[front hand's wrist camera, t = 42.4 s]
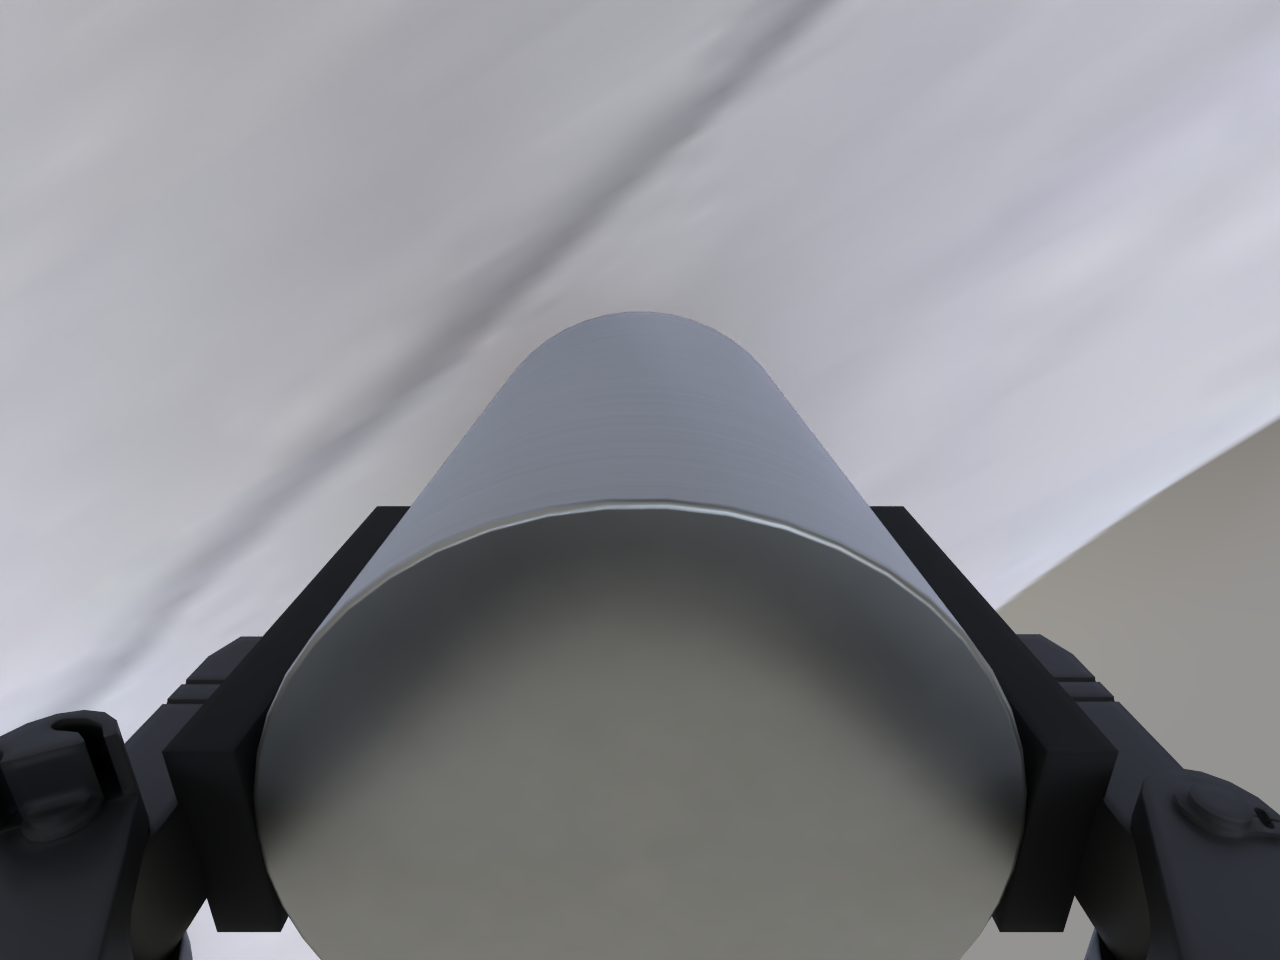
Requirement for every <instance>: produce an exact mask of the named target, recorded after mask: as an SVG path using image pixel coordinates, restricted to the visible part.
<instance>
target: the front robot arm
mask: <svg viewBox="0 0 1280 960" xmlns="http://www.w3.org/2000/svg"><path fill="white" fill-rule="evenodd" d="M410 507H411V506H377V507H376V508H375V509H374V511H373V512H372V513H371V514H370V515H369V516H368V517H367V519H366V520H365V521H364V522H363V523H362V524H361V525H360V526H359V528H358V529H357V530H356V531H355V532H354V533H353V534H352V536H351V537H350V538H349V539H348V540H347V541H346V542H345V544H344V545H343V546H342V547H341V548H340V549H339V550H338V551H337V553H336V554H335V555H334V556H333V557H332V558H331V559H330V561H329V562H328V563H327V564H326V565H325V566H324V567H323V569H322V570H321V571H320V572H319V573H318V574H317V575H316V577H315V578H314V579H313V580H312V581H311V582H310V583H309V584H308V586H307V587H306V588H305V589H304V590H303V591H302V592H301V594H300V595H299V596H298V597H297V598H296V599H295V600H294V602H293V603H292V604H291V605H290V606H289V607H288V608H287V609H286V611H285V612H284V613H283V614H282V615H281V616H280V617H279V619H278V620H277V621H276V622H275V623H274V624H273V625H272V627H271V628H270V629H269V630H268V631H267V632H266V633H265V635H264V636H263V637H239V638H238V639H236V640H235V641H233V642H231V643H230V644H228V645H226V646H225V647H223V648H222V649H220V650H218V651H217V652H215V653H213V654H212V655H210V656H208V658H207V659H206V660H205V661H204V662H203V663H202V664H201V665H200V666H199V667H198V668H197V669H196V670H195V671H194V672H193V673H192V674H191V675H190V676H189V677H188V678H187V679H186V684H182V685H181V686H180V687H179V688H178V689H177V690H176V691H175V692H174V693H173V694H172V695H171V696H170V697H169V698H168V699H167V700H168V701H167V704H162V705H161V706H160V707H159V708H158V710H157V711H156V712H155V713H154V714H153V715H152V716H151V717H150V718H149V719H148V720H147V721H146V722H145V723H144V724H143V725H142V726H141V727H140V728H139V729H138V730H137V731H136V732H135V733H134V735H133V736H132V737H131V738H130V739H129V740H128V741H127V742H126V743H125V744H124V741H123V738H122V735H121V732H120V729H119V726H118V723H117V720H115V719H114V718H112V717H111V716H110V715H108V714H107V713H105V712H98V711H89V710H81V711H74V712H67V713H60V714H55V715H52V716H49V717H46V718H43V719H39V720H36V721H33V722H30V723H27V724H25V725H23V726H21V727H19V728H17V729H15V730H13V731H11V732H8V733H6V734H4V735H2V736H0V960H192V959H193V958H192V952H191V945H190V941H189V938H188V935H187V932H186V930H187V928H188V927H189V925H190V924H191V922H192V920H193V919H194V917H195V916H196V914H197V913H198V911H199V909H200V908H201V906H202V905H203V903H204V901H205V900H206V898H207V900H208V903H209V906H210V910H211V913H212V916H213V919H214V923H215V926H216V929H217V932H281V930H282V928H283V926H284V924H285V922H286V920H287V918H288V914H287V913H286V911H285V910H284V908H283V907H282V904H281V902H280V900H279V898H278V896H277V893H276V891H275V889H274V887H273V884H272V882H271V880H270V878H269V876H268V873H267V871H266V867H265V863H264V860H263V856H262V852H261V848H260V845H259V841H258V837H257V831H256V820H255V810H254V799H253V794H254V782H255V770H256V757H257V751H258V747H259V743H260V740H261V736H262V732H263V728H264V724H265V721H266V717H267V713H268V711H269V709H270V707H271V705H272V702H273V700H274V698H275V696H276V694H277V692H278V689H279V687H280V685H281V683H282V681H283V679H284V677H285V674H286V673H287V671H288V670H289V668H290V667H291V666H292V664H293V663H294V661H295V660H296V658H297V657H298V655H299V654H300V652H301V651H302V650H303V648H304V647H305V645H306V644H307V642H308V641H309V639H310V638H311V637H312V635H313V634H314V633H315V631H316V630H317V629H318V627H319V626H320V625H321V623H322V622H323V621H324V620H325V618H326V617H327V616H328V614H329V613H330V612H331V610H332V609H333V608H334V606H335V605H336V604H337V603H338V601H339V600H340V599H341V597H342V596H343V595H344V593H345V592H346V591H347V589H348V588H349V587H350V586H351V584H352V583H353V582H354V580H355V579H356V578H357V576H358V575H359V574H360V572H361V571H362V570H363V569H364V567H365V566H366V565H367V563H368V562H369V561H370V559H371V558H372V557H373V556H374V554H375V553H376V552H377V550H378V549H379V548H380V546H381V545H382V544H383V542H384V541H385V540H386V539H387V537H388V536H389V535H390V533H391V532H392V531H393V529H394V528H395V527H396V525H397V524H398V523H399V522H400V520H401V519H402V518H403V516H404V515H405V514H406V512H407V511H408V510H409V508H410ZM869 507H870V508H871V510H872V511H873V512H874V514H875V515H876V516H877V517H878V519H879V520H880V521H881V523H882V524H883V525H884V527H885V528H886V529H887V530H888V532H889V533H890V534H891V536H892V537H893V538H894V540H895V541H896V542H897V544H898V545H899V546H900V547H901V549H902V550H903V551H904V553H905V554H906V555H907V557H908V558H909V559H910V560H911V562H912V563H913V564H914V566H915V567H916V568H917V570H918V571H919V572H920V574H921V575H922V576H923V577H924V579H925V580H926V581H927V583H928V584H929V585H930V587H931V588H932V589H933V590H934V592H935V593H936V594H937V596H938V597H939V598H940V600H941V601H942V602H943V604H944V605H945V606H946V607H947V609H948V610H949V611H950V613H951V614H952V615H953V617H954V618H955V619H956V620H957V622H958V623H959V624H960V626H961V627H962V628H963V630H964V631H965V632H966V634H967V635H968V636H969V638H970V639H971V641H972V642H973V643H974V645H975V646H976V648H977V649H978V650H979V652H980V653H981V655H982V656H983V657H984V659H985V660H986V662H987V663H988V664H989V666H990V667H991V669H992V670H993V672H994V674H995V676H996V678H997V680H998V682H999V684H1000V687H1001V689H1002V691H1003V693H1004V695H1005V697H1006V699H1007V701H1008V703H1009V705H1010V707H1011V709H1012V713H1013V716H1014V720H1015V723H1016V727H1017V730H1018V734H1019V737H1020V741H1021V745H1022V748H1023V756H1024V766H1025V777H1026V787H1027V801H1026V814H1025V826H1024V834H1023V838H1022V842H1021V846H1020V850H1019V854H1018V857H1017V861H1016V865H1015V869H1014V871H1013V874H1012V876H1011V878H1010V880H1009V883H1008V885H1007V887H1006V890H1005V892H1004V894H1003V897H1002V899H1001V901H1000V903H999V905H998V907H997V908H996V910H995V911H994V913H993V915H992V917H993V919H994V921H995V923H996V925H997V927H998V929H999V931H1000V932H1063V931H1064V928H1065V924H1066V921H1067V918H1068V915H1069V911H1070V908H1071V905H1072V902H1073V899H1074V895H1075V897H1076V898H1077V900H1078V902H1079V903H1080V905H1081V906H1082V908H1083V909H1084V911H1085V913H1086V914H1087V916H1088V917H1089V919H1090V921H1091V922H1092V924H1093V925H1094V927H1095V929H1094V932H1093V935H1092V938H1091V941H1090V944H1089V947H1088V950H1087V953H1086V956H1085V959H1084V960H1280V815H1279V814H1278V813H1277V812H1275V811H1274V810H1273V809H1272V808H1270V807H1269V806H1268V805H1267V804H1265V803H1264V802H1263V801H1262V800H1260V799H1259V798H1258V797H1256V796H1254V795H1253V794H1251V793H1249V792H1247V791H1245V790H1244V789H1242V788H1240V787H1238V786H1236V785H1235V784H1233V783H1231V782H1229V781H1226V780H1223V779H1220V778H1217V777H1215V776H1212V775H1209V774H1206V773H1203V772H1200V771H1194V770H1187V769H1183V768H1182V767H1181V766H1180V765H1179V764H1178V763H1177V761H1176V760H1175V759H1174V758H1173V757H1172V756H1171V755H1170V754H1169V753H1168V752H1167V751H1166V750H1165V749H1164V748H1163V747H1162V746H1161V745H1160V744H1159V743H1158V742H1157V741H1156V740H1155V739H1154V738H1153V737H1152V736H1151V735H1150V734H1149V733H1148V732H1147V731H1146V729H1145V728H1144V727H1143V726H1142V725H1141V724H1140V723H1139V722H1138V721H1137V720H1136V719H1135V718H1134V717H1133V716H1132V715H1131V714H1130V713H1129V712H1128V711H1127V710H1126V709H1125V708H1124V707H1123V706H1122V705H1121V704H1120V703H1119V702H1115V701H1114V696H1113V695H1112V694H1111V693H1110V692H1109V691H1108V690H1107V689H1106V688H1105V687H1104V686H1103V685H1102V684H1101V683H1100V682H1096V681H1095V677H1094V676H1093V675H1092V674H1091V673H1090V672H1089V671H1088V670H1087V668H1086V667H1085V666H1084V665H1083V664H1082V663H1081V662H1080V661H1079V660H1078V659H1077V658H1076V657H1075V656H1074V655H1073V654H1071V653H1070V652H1068V651H1067V650H1065V649H1063V648H1062V647H1060V646H1058V645H1057V644H1055V643H1053V642H1052V641H1050V640H1048V639H1047V638H1045V637H1044V636H1042V635H1040V634H1015V633H1014V632H1013V631H1012V629H1011V628H1010V627H1009V626H1008V625H1007V624H1006V623H1005V621H1004V620H1003V619H1002V618H1001V617H1000V616H999V615H998V613H997V612H996V611H995V610H994V609H993V608H992V607H991V606H990V604H989V603H988V602H987V601H986V600H985V599H984V598H983V596H982V595H981V594H980V593H979V592H978V591H977V590H976V588H975V587H974V586H973V585H972V584H971V583H970V582H969V580H968V579H967V578H966V577H965V576H964V575H963V574H962V573H961V571H960V570H959V569H958V568H957V567H956V566H955V565H954V563H953V562H952V561H951V560H950V559H949V558H948V557H947V555H946V554H945V553H944V552H943V551H942V550H941V549H940V548H939V546H938V545H937V544H936V543H935V542H934V541H933V540H932V538H931V537H930V536H929V535H928V534H927V533H926V532H925V530H924V529H923V528H922V527H921V526H920V525H919V524H918V523H917V521H916V520H915V519H914V518H913V517H912V516H911V515H910V513H909V512H908V511H907V510H906V509H905V508H904V507H903V506H869Z"/></svg>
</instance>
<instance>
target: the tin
mask: <svg viewBox="0 0 1280 960" xmlns="http://www.w3.org/2000/svg"><path fill="white" fill-rule="evenodd" d="M253 799H254V810H255V820H256V831H257V837H258V841H259V845H260V848H261V852H262V856H263V860H264V863H265V867H266V871H267V873H268V876H269V878H270V880H271V882H272V884H273V887H274V889H275V891H276V893H277V896H278V898H279V900H280V902H281V904H282V907H283V908H284V910H285V911H286V913H287V914H288V916H289V918H290V919H291V921H292V922H293V924H294V925H295V927H296V928H297V930H298V932H299V933H300V935H301V936H302V938H303V939H304V940H305V942H306V943H307V944H308V945H309V946H310V947H311V949H312V950H313V951H314V952H315V953H316V954H317V956H318V957H319V958H320V959H321V960H960V958H961V957H962V956H963V955H964V954H965V952H966V951H967V950H968V949H969V948H970V946H971V945H972V944H973V943H974V942H975V940H976V939H977V938H978V937H979V936H980V934H981V932H982V931H983V929H984V927H985V926H986V924H987V923H988V921H989V920H990V918H991V916H992V915H993V913H994V911H995V910H996V908H997V907H998V905H999V903H1000V901H1001V899H1002V897H1003V894H1004V892H1005V890H1006V887H1007V885H1008V883H1009V880H1010V878H1011V876H1012V874H1013V871H1014V869H1015V865H1016V861H1017V857H1018V854H1019V850H1020V846H1021V842H1022V838H1023V834H1024V826H1025V814H1026V801H1027V787H1026V777H1025V766H1024V756H1023V748H1022V745H1021V741H1020V737H1019V734H1018V730H1017V727H1016V723H1015V720H1014V716H1013V713H1012V709H1011V707H1010V705H1009V703H1008V701H1007V699H1006V697H1005V695H1004V693H1003V691H1002V689H1001V687H1000V684H999V682H998V680H997V678H996V676H995V674H994V672H993V670H992V669H991V667H990V666H989V664H988V663H987V662H986V660H985V659H984V657H983V656H982V655H981V653H980V652H979V650H978V649H977V648H976V646H975V645H974V643H973V642H972V641H971V639H970V638H969V636H968V635H967V634H966V632H965V631H964V630H963V628H962V627H961V626H960V624H959V623H958V622H957V620H956V619H955V618H954V617H953V615H952V614H951V613H950V611H949V610H948V609H947V607H946V606H945V605H944V604H943V602H942V601H941V600H940V598H939V597H938V596H937V594H936V593H935V592H934V590H933V589H932V588H931V587H930V585H929V584H928V583H927V581H926V580H925V579H924V577H923V576H922V575H921V574H920V572H919V571H918V570H917V568H916V567H915V566H914V564H913V563H912V562H911V560H910V559H909V558H908V557H907V555H906V554H905V553H904V551H903V550H902V549H901V547H900V546H899V545H898V544H897V542H896V541H895V540H894V538H893V537H892V536H891V534H890V533H889V532H888V530H887V529H886V528H885V527H884V525H883V524H882V523H881V521H880V520H879V519H878V517H877V516H876V515H875V514H874V512H873V511H872V510H871V508H870V507H869V506H868V504H867V503H866V502H865V500H864V499H863V498H862V497H861V495H860V494H859V493H858V491H857V490H856V489H855V487H854V486H853V485H852V484H851V482H850V481H849V480H848V478H847V477H846V476H845V474H844V473H843V472H842V470H841V469H840V468H839V467H838V465H837V464H836V463H835V461H834V460H833V459H832V457H831V456H830V455H829V454H828V452H827V451H826V450H825V448H824V447H823V446H822V444H821V443H820V442H819V440H818V439H817V438H816V437H815V435H814V434H813V433H812V431H811V430H810V429H809V427H808V426H807V425H806V424H805V422H804V421H803V420H802V418H801V417H800V416H799V414H798V413H797V412H796V410H795V409H794V408H793V407H792V405H791V404H790V403H789V401H788V400H787V399H786V397H785V396H784V395H783V394H782V392H781V391H780V390H779V388H778V387H777V386H776V384H775V383H774V382H773V380H772V379H771V378H770V377H769V375H768V374H767V373H766V371H765V370H764V369H763V367H762V366H761V365H760V364H759V363H758V362H757V361H756V360H755V359H754V358H753V357H752V356H751V355H750V354H749V353H748V352H747V351H746V350H744V349H743V348H742V347H740V346H739V345H738V344H737V343H735V342H734V341H733V340H732V339H730V338H728V337H727V336H725V335H723V334H721V333H720V332H718V331H716V330H715V329H713V328H710V327H708V326H706V325H703V324H701V323H698V322H696V321H694V320H690V319H686V318H683V317H679V316H675V315H671V314H663V313H655V312H624V313H617V314H610V315H604V316H601V317H597V318H594V319H590V320H587V321H584V322H581V323H579V324H577V325H574V326H572V327H570V328H568V329H565V330H564V331H562V332H560V333H559V334H557V335H555V336H554V337H552V338H550V339H549V340H547V341H546V342H544V343H543V344H542V345H541V346H540V347H538V348H537V349H536V350H535V351H533V352H532V353H531V354H530V355H529V356H528V357H527V358H526V359H525V360H524V361H523V362H522V363H521V364H520V366H519V367H518V368H517V369H516V370H515V371H514V373H513V374H512V375H511V377H510V378H509V379H508V380H507V382H506V383H505V384H504V386H503V387H502V388H501V390H500V391H499V392H498V393H497V395H496V396H495V397H494V399H493V400H492V401H491V403H490V404H489V405H488V407H487V408H486V409H485V410H484V412H483V413H482V414H481V416H480V417H479V418H478V420H477V421H476V422H475V424H474V425H473V426H472V427H471V429H470V430H469V431H468V433H467V434H466V435H465V437H464V438H463V439H462V441H461V442H460V443H459V444H458V446H457V447H456V448H455V450H454V451H453V452H452V454H451V455H450V456H449V458H448V459H447V460H446V461H445V463H444V464H443V465H442V467H441V468H440V469H439V471H438V472H437V473H436V474H435V476H434V477H433V478H432V480H431V481H430V482H429V484H428V485H427V486H426V488H425V489H424V490H423V491H422V493H421V494H420V495H419V497H418V498H417V499H416V501H415V502H414V503H413V505H412V506H411V507H410V508H409V510H408V511H407V512H406V514H405V515H404V516H403V518H402V519H401V520H400V522H399V523H398V524H397V525H396V527H395V528H394V529H393V531H392V532H391V533H390V535H389V536H388V537H387V539H386V540H385V541H384V542H383V544H382V545H381V546H380V548H379V549H378V550H377V552H376V553H375V554H374V556H373V557H372V558H371V559H370V561H369V562H368V563H367V565H366V566H365V567H364V569H363V570H362V571H361V572H360V574H359V575H358V576H357V578H356V579H355V580H354V582H353V583H352V584H351V586H350V587H349V588H348V589H347V591H346V592H345V593H344V595H343V596H342V597H341V599H340V600H339V601H338V603H337V604H336V605H335V606H334V608H333V609H332V610H331V612H330V613H329V614H328V616H327V617H326V618H325V620H324V621H323V622H322V623H321V625H320V626H319V627H318V629H317V630H316V631H315V633H314V634H313V635H312V637H311V638H310V639H309V641H308V642H307V644H306V645H305V647H304V648H303V650H302V651H301V652H300V654H299V655H298V657H297V658H296V660H295V661H294V663H293V664H292V666H291V667H290V668H289V670H288V671H287V673H286V674H285V677H284V679H283V681H282V683H281V685H280V687H279V689H278V692H277V694H276V696H275V698H274V700H273V702H272V705H271V707H270V709H269V711H268V713H267V717H266V721H265V724H264V728H263V732H262V736H261V740H260V743H259V747H258V751H257V757H256V770H255V782H254V794H253Z"/></svg>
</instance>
